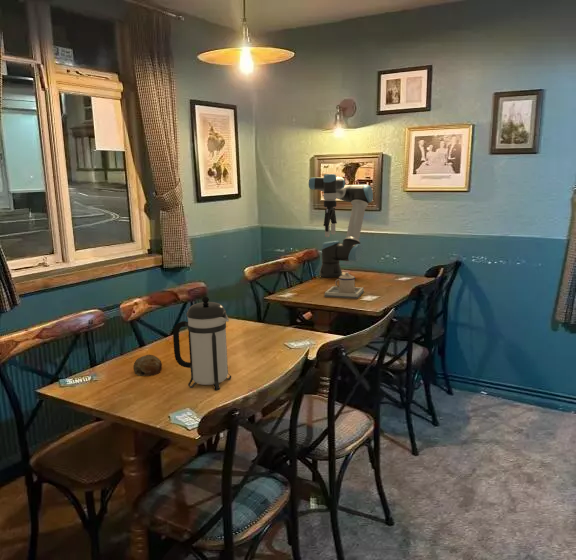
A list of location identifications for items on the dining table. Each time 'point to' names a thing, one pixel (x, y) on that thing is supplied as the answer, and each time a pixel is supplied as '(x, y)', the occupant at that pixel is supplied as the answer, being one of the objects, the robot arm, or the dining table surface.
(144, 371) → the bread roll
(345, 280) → the teacup with lid
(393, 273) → the dining table surface
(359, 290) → the grey shallow tray
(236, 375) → the dining table surface
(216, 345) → the coffee press
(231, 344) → the dining table surface
